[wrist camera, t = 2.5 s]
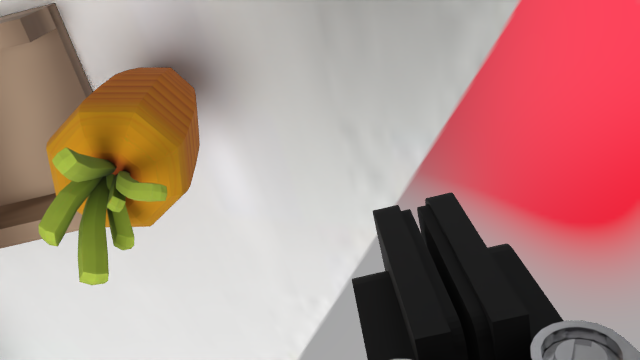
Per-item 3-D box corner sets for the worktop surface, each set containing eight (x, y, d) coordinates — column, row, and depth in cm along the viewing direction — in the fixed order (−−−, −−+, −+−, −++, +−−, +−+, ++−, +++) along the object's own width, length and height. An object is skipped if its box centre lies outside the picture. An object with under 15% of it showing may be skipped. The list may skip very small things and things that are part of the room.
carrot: (136, 17, 27) (-6, 128, 14) (234, 57, 28) (190, 194, 15) (110, 108, 29) (-37, 283, 16) (202, 141, 30) (139, 332, 17)
